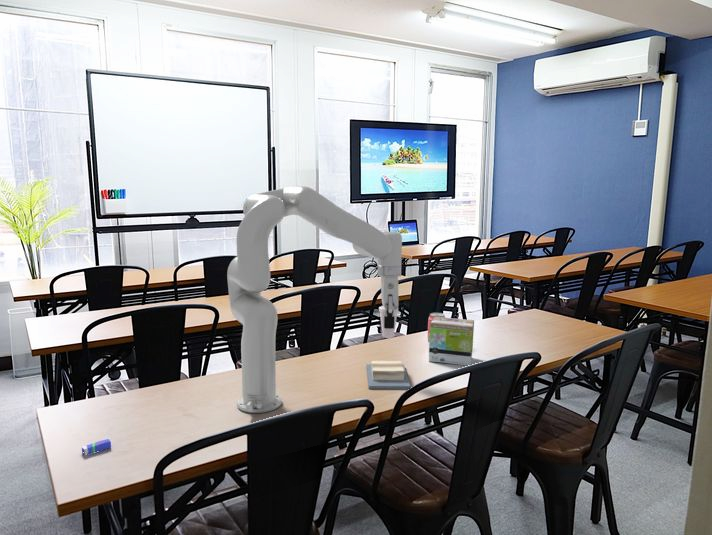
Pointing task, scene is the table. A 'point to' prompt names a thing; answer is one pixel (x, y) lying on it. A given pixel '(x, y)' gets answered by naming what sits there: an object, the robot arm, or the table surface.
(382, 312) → the smoothie
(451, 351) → the tea box
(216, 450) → the table surface
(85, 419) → the table surface
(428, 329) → the soda can
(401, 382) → the board
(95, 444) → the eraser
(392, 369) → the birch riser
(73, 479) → the table surface
